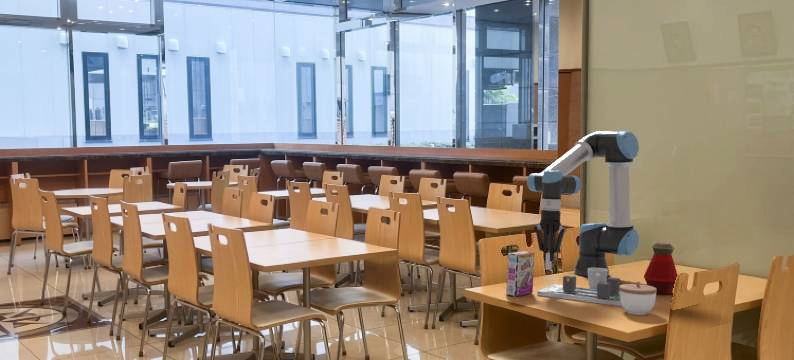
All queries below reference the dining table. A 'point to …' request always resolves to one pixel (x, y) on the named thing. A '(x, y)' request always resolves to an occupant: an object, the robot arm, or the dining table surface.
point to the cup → (596, 276)
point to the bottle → (661, 269)
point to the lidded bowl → (637, 298)
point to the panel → (579, 295)
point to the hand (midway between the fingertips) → (548, 269)
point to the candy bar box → (520, 273)
